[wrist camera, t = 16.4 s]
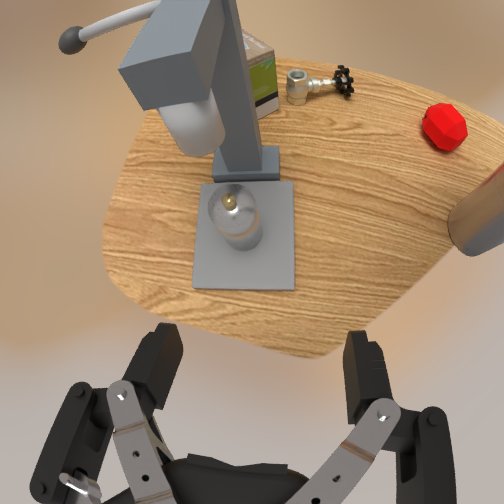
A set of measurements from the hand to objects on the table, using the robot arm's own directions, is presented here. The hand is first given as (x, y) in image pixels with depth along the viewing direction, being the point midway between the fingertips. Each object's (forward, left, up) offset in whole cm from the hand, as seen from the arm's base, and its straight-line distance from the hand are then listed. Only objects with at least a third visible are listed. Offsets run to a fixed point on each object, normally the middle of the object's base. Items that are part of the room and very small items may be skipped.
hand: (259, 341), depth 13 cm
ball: (-45, -9, -26) cm, 53 cm away
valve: (-31, -29, -26) cm, 50 cm away
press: (-2, -19, -26) cm, 32 cm away
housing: (-4, -14, -24) cm, 28 cm away
